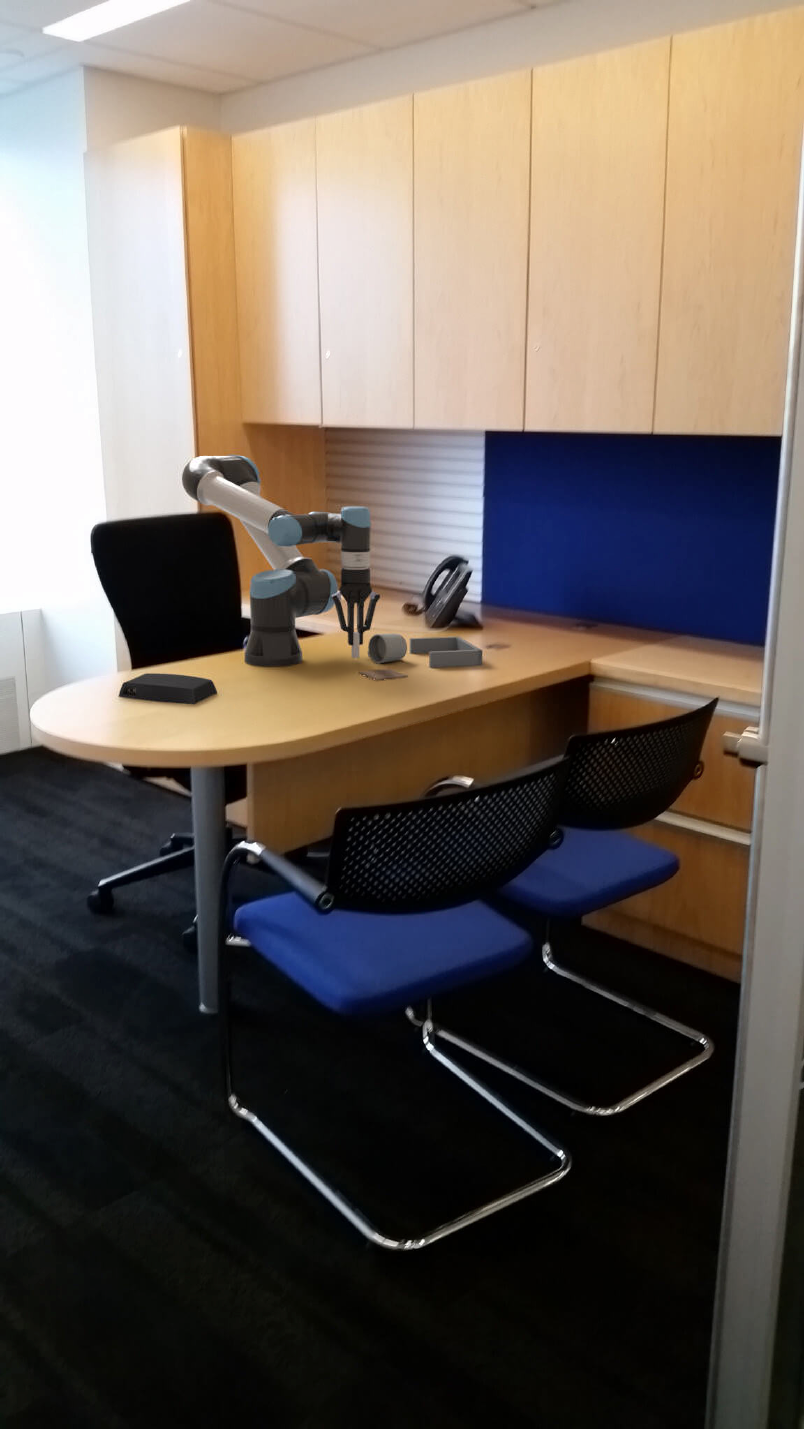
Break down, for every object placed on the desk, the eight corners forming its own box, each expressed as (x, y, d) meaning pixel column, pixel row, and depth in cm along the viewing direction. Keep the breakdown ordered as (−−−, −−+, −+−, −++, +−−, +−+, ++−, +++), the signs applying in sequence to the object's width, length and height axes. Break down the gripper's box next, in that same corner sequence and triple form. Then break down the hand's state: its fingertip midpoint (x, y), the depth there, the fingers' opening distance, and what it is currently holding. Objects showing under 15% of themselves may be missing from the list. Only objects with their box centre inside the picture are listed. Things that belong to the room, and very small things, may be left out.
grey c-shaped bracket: (430, 667, 298) (430, 652, 297) (409, 652, 316) (409, 638, 315) (481, 665, 301) (482, 650, 300) (458, 650, 319) (458, 636, 318)
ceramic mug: (409, 661, 304) (409, 633, 302) (386, 665, 299) (386, 636, 297) (382, 655, 312) (382, 627, 310) (359, 659, 307) (359, 631, 305)
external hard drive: (145, 687, 273) (145, 670, 272) (219, 694, 268) (218, 677, 267) (116, 699, 261) (115, 682, 260) (192, 707, 256) (192, 689, 255)
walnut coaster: (376, 683, 282) (376, 679, 282) (358, 675, 289) (358, 672, 289) (407, 679, 287) (407, 675, 286) (389, 672, 294) (389, 668, 294)
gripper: (333, 570, 290) (334, 661, 296) (383, 568, 293) (382, 658, 299) (327, 566, 297) (328, 655, 303) (376, 565, 300) (375, 653, 306)
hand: (355, 657), depth 301 cm, fingers closed
